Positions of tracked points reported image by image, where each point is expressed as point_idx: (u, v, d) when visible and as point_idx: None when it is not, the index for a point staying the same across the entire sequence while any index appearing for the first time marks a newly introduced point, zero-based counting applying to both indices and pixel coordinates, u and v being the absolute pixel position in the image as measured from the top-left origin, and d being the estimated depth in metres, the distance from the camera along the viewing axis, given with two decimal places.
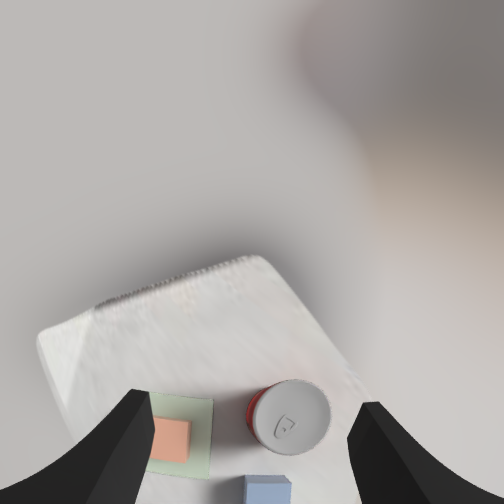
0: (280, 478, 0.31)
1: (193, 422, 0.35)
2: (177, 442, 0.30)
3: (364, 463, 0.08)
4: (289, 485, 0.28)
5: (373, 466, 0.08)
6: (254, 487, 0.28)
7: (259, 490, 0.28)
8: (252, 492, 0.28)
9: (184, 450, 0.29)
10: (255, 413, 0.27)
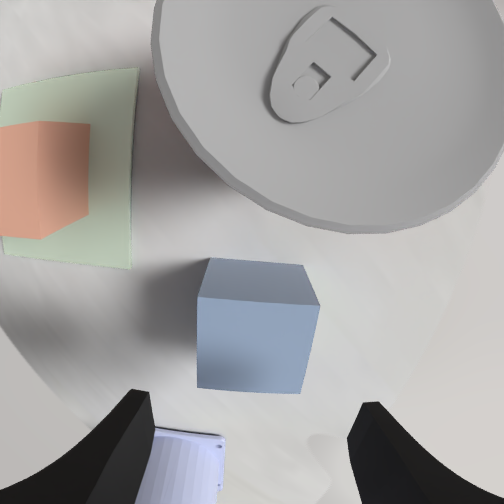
0: (292, 278, 0.15)
1: (93, 128, 0.14)
2: (20, 181, 0.10)
3: (364, 463, 0.08)
4: (313, 311, 0.13)
5: (373, 466, 0.08)
6: (216, 310, 0.13)
7: (230, 319, 0.13)
8: (211, 324, 0.13)
9: (35, 202, 0.11)
10: None
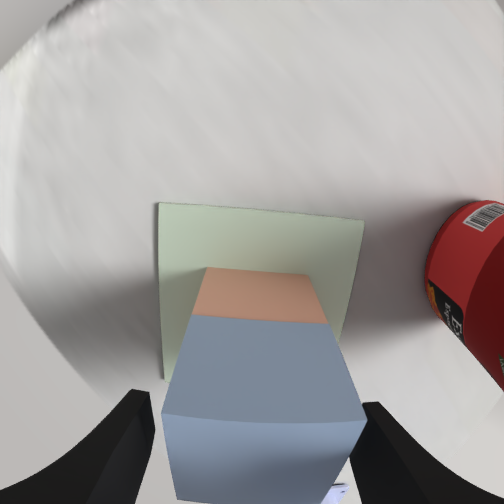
0: (318, 356, 0.09)
1: (310, 279, 0.16)
2: None
3: (364, 463, 0.08)
4: (355, 428, 0.07)
5: (373, 466, 0.08)
6: (195, 431, 0.07)
7: (219, 442, 0.07)
8: (188, 445, 0.07)
9: None
10: None
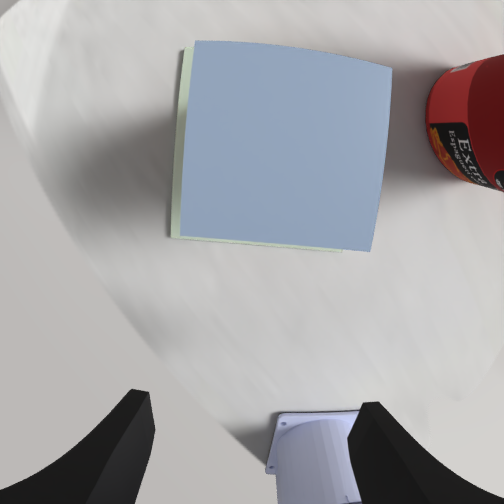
0: None
1: None
2: None
3: (364, 463, 0.08)
4: (384, 76, 0.07)
5: (373, 466, 0.08)
6: (225, 60, 0.07)
7: (248, 76, 0.07)
8: (215, 86, 0.07)
9: None
10: None
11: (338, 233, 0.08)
